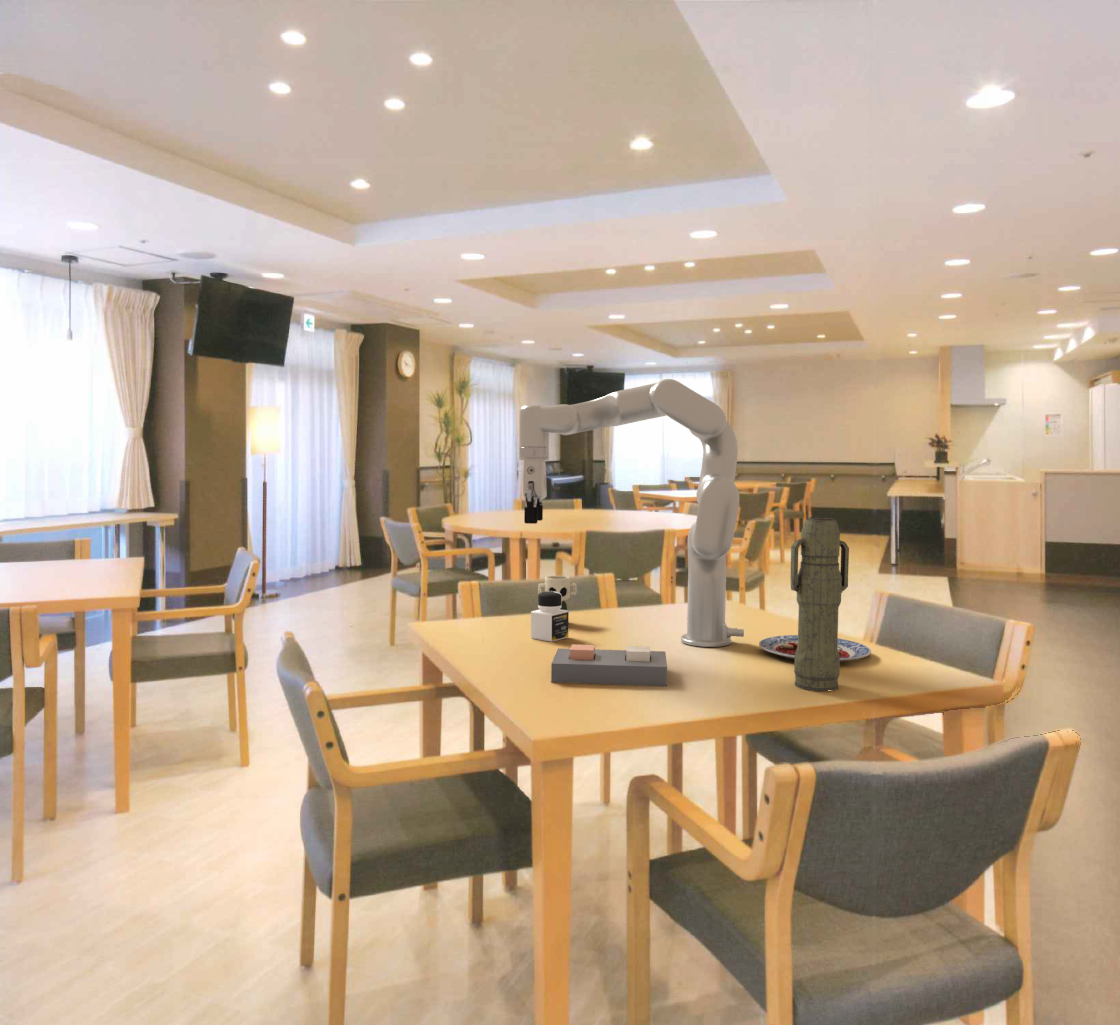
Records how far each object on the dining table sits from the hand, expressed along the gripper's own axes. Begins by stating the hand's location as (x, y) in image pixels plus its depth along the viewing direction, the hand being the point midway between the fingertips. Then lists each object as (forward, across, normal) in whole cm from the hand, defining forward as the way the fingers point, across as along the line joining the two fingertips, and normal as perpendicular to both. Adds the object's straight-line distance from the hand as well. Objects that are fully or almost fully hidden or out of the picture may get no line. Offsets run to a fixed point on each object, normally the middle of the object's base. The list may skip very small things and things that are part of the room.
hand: (533, 521), depth 220 cm
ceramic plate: (+31, -6, -69) cm, 76 cm away
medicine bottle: (+31, +2, -4) cm, 31 cm away
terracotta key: (+27, -33, -16) cm, 46 cm away
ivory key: (+27, -33, -28) cm, 51 cm away
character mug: (+31, +22, -4) cm, 38 cm away
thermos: (+31, -35, -65) cm, 80 cm away
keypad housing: (+30, -33, -22) cm, 50 cm away
